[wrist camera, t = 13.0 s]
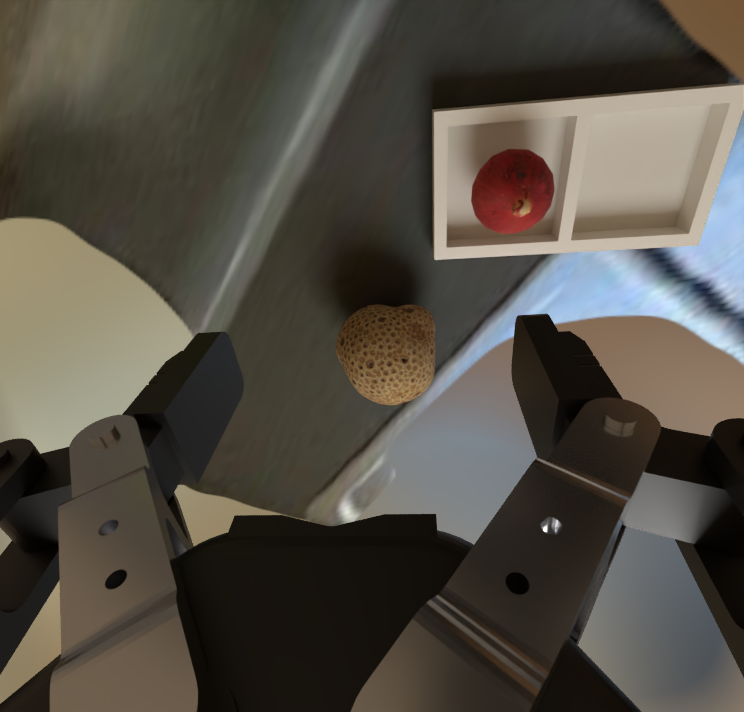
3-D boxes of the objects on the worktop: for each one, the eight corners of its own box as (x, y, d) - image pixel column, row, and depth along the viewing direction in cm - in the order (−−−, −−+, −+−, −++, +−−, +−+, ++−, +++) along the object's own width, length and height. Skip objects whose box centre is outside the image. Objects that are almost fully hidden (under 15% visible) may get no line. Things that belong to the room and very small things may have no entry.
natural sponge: (333, 348, 45) (318, 409, 37) (355, 271, 41) (343, 322, 32) (416, 370, 46) (418, 436, 38) (446, 298, 41) (457, 355, 33)
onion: (470, 141, 34) (487, 158, 27) (546, 142, 33) (582, 159, 26) (462, 217, 37) (474, 250, 30) (531, 219, 36) (559, 251, 30)
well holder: (431, 109, 33) (433, 112, 31) (727, 83, 31) (752, 83, 29) (432, 249, 39) (434, 259, 37) (681, 235, 37) (698, 245, 35)
